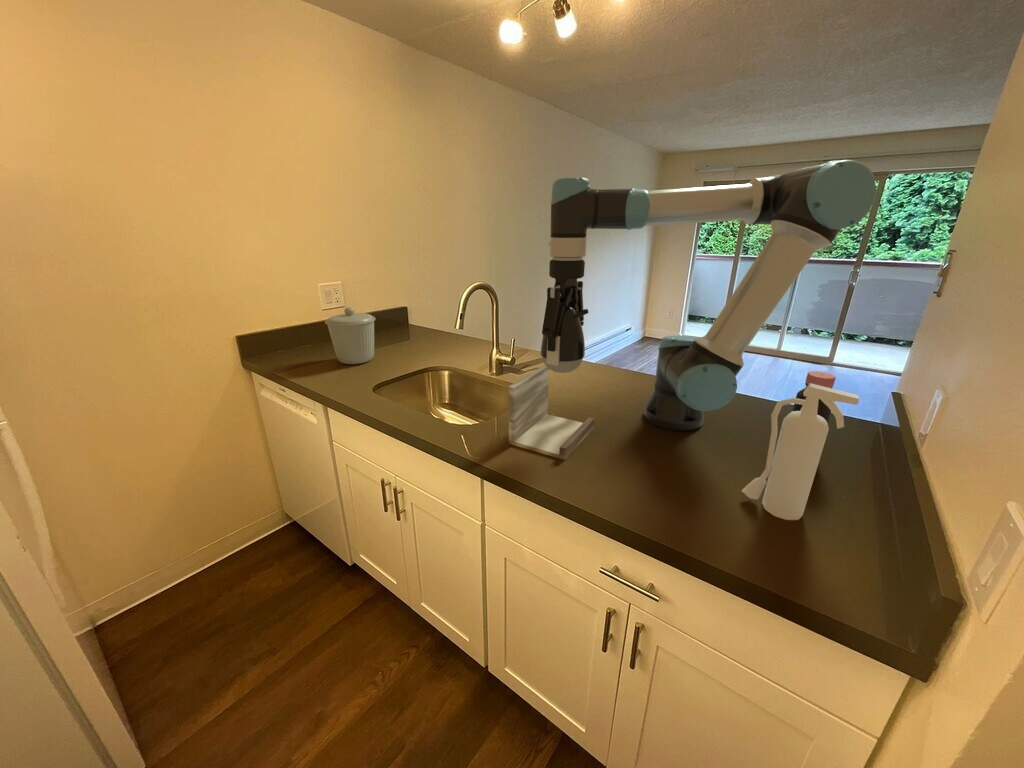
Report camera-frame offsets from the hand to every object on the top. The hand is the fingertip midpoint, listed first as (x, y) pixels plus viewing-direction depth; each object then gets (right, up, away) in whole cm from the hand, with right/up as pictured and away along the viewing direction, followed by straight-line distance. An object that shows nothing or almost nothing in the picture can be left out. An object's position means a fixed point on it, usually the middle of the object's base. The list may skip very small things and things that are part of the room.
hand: (562, 358), depth 97 cm
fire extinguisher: (+38, -30, -18) cm, 52 cm away
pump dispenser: (0, -3, +1) cm, 3 cm away
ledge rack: (-2, -19, +9) cm, 21 cm away
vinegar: (+54, -23, -1) cm, 59 cm away
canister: (-73, +3, +68) cm, 100 cm away
